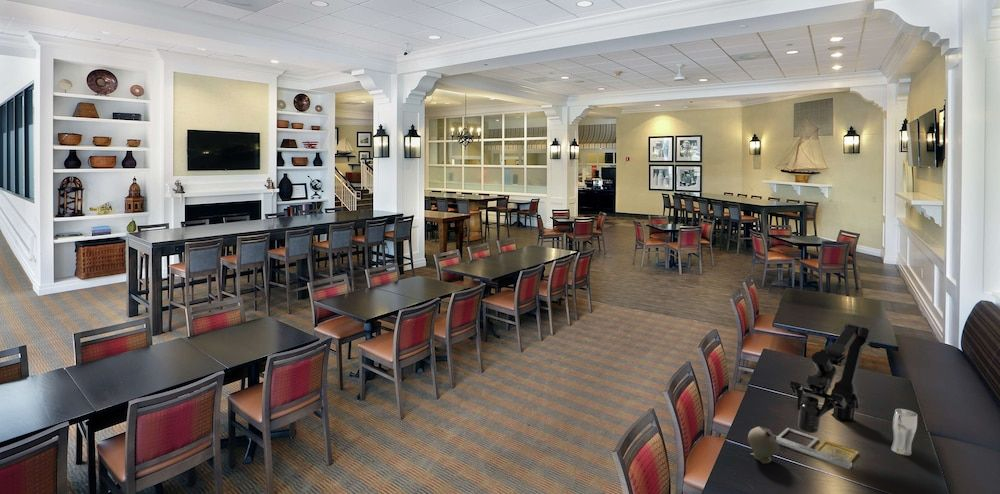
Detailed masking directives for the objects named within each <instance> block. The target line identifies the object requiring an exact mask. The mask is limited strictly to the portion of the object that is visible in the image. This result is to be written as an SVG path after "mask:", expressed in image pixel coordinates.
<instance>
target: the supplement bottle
mask: <svg viewBox="0 0 1000 494" xmlns="http://www.w3.org/2000/svg"><path fill="white" fill-rule="evenodd" d="M820 409H821V408H820V407H819V399H818V398H816V397H815V396H809V395H807V396H806V395H805V397H804V400H803V403H802V404H801V405H800V409H799V410H798V411H799V412H798V421H797V427H798V429H799V430H801V432H802V431H803V432H806V433H807V434H808V433H809V434H816V433H817V432H818V431H819V428H820V421H821V420H820V419H821V417H818V413H819V411H820Z"/></svg>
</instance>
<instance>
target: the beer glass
mask: <svg viewBox="0 0 1000 494" xmlns="http://www.w3.org/2000/svg"><path fill="white" fill-rule="evenodd" d="M917 427H918V414H917V413H916V412H914V411H913V410H909V409H906V408H905V409H904V408H895V410H894V415H893V418H892V433H893V441H892V444H891V447H890V449H891V451H892V452H894V453H896V454H898V455H901V456H911V455H912V454H913V453H912V443H913V440H914V438H915V435H916V433H917V432H916V431H917Z"/></svg>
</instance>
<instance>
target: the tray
mask: <svg viewBox="0 0 1000 494" xmlns="http://www.w3.org/2000/svg"><path fill="white" fill-rule="evenodd" d="M788 432H791V433H795V434H797V435H799V436H803V437H806V438H808V439H812V441H811V442H810V443H809V444H807V446H806V445H804V444H801V443H797V442H795V441H792V440H790V439H787V438H783V436H785V435H786V434H787V433H788ZM775 436H776V437H777V439H776V441H777V443H778V444H779V446H783V447H786V448H788V449H791V450H793V451H796V452H800V453H802V454H805V455H807V456H811V457H813V458H817V459H819V460H822V461H825V462H828V463H830V464H833V465H836V466H838V467H842V468H844V469H847V470H850V469H852V466H853V460H854V459H855V458H856V457H857V456H858V455H859V451H858V450H855V449H853V448H849V447H847V446H843V445H839V444H837V443H835V442H832V441H829V440H826V439H824V440H822V442H821V443H820V444H819V445H818V446H817V447H816V448H815V449H814V448H812V447H813V446H814V445H815V444H816V443H817V442H818V441H819V437H817V436H814V435H810V434H808V433H804V432H802V431H798V430H796V429H794V428H793V429H792V428H789V427H786V428H785V429H784V430H782V432H781V433H779V434H778V435H775Z"/></svg>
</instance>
